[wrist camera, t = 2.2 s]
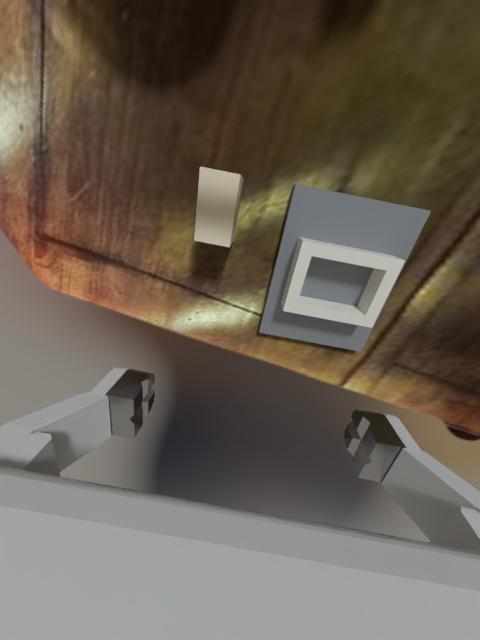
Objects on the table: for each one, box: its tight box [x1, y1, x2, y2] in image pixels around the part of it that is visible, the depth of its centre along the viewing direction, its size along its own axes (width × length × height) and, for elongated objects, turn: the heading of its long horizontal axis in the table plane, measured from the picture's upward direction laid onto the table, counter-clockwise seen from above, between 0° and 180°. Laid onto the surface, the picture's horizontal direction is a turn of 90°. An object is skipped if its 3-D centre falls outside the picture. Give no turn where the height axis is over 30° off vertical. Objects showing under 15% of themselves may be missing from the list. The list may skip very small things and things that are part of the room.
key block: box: [194, 167, 244, 247], centre depth 27 cm, size 7×4×6 cm, turn 170°
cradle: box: [259, 184, 431, 352], centre depth 31 cm, size 20×16×4 cm
